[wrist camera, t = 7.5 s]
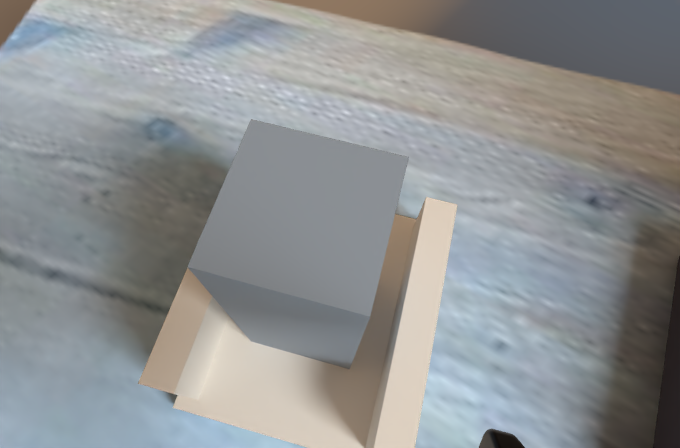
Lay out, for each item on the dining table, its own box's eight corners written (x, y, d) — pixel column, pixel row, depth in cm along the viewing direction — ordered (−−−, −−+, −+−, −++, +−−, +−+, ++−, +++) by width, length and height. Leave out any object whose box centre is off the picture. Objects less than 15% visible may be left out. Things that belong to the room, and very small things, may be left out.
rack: (392, 471, 17) (408, 482, 13) (167, 405, 17) (131, 400, 14) (438, 230, 21) (459, 193, 17) (254, 184, 21) (241, 140, 18)
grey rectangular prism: (349, 369, 17) (370, 316, 9) (251, 341, 18) (187, 266, 10) (373, 273, 19) (409, 157, 11) (282, 249, 19) (250, 119, 11)
